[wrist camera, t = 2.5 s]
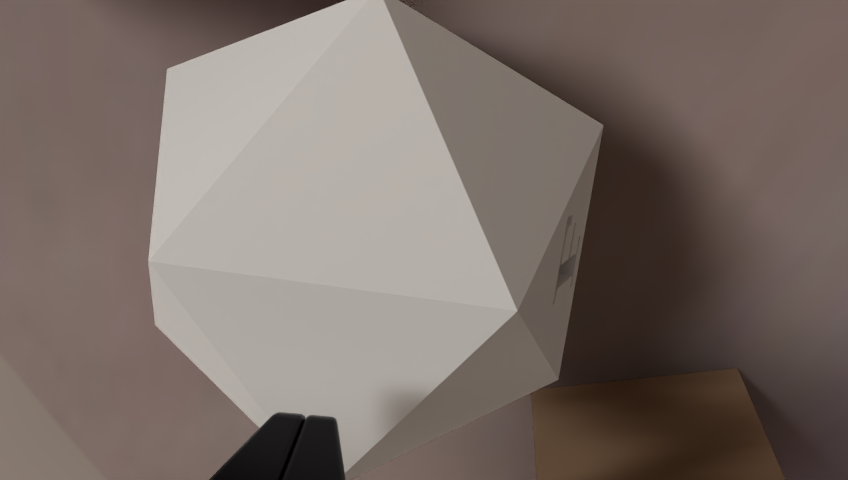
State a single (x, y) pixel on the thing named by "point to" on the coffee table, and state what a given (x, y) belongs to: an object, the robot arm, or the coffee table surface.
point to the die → (368, 225)
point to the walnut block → (652, 430)
